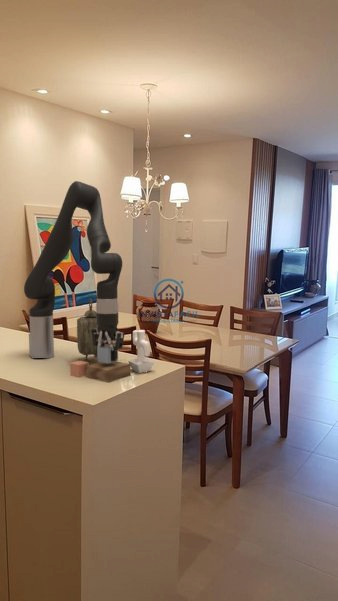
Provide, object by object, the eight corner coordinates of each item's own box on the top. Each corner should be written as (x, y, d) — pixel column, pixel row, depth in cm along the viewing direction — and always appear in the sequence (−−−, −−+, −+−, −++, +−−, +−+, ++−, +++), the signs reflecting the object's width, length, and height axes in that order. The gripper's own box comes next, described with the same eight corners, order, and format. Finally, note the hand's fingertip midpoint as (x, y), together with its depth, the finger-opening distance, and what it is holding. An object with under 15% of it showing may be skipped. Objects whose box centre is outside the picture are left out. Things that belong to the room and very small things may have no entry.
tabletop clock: (105, 365, 174) (104, 300, 172) (80, 367, 172) (79, 301, 169) (99, 356, 188) (98, 296, 185) (77, 358, 186) (76, 297, 183)
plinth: (85, 376, 158) (85, 365, 158) (107, 370, 167) (107, 359, 167) (108, 382, 152) (108, 370, 151) (130, 375, 161) (130, 364, 160)
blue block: (97, 361, 158) (97, 347, 158) (107, 358, 162) (107, 344, 162) (108, 363, 155) (107, 349, 155) (118, 360, 159) (117, 346, 159)
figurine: (139, 375, 160) (139, 333, 159) (126, 369, 168) (125, 329, 166) (156, 372, 164) (156, 331, 163) (143, 366, 172) (143, 327, 170)
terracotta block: (70, 375, 160) (70, 363, 160) (80, 372, 164) (79, 360, 163) (79, 377, 158) (79, 365, 157) (88, 375, 161) (88, 362, 161)
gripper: (84, 310, 158) (85, 358, 160) (115, 314, 150) (115, 365, 152) (100, 308, 164) (100, 355, 166) (130, 311, 156) (130, 360, 158)
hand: (107, 359), depth 159 cm, fingers closed on blue block, 5 cm apart
